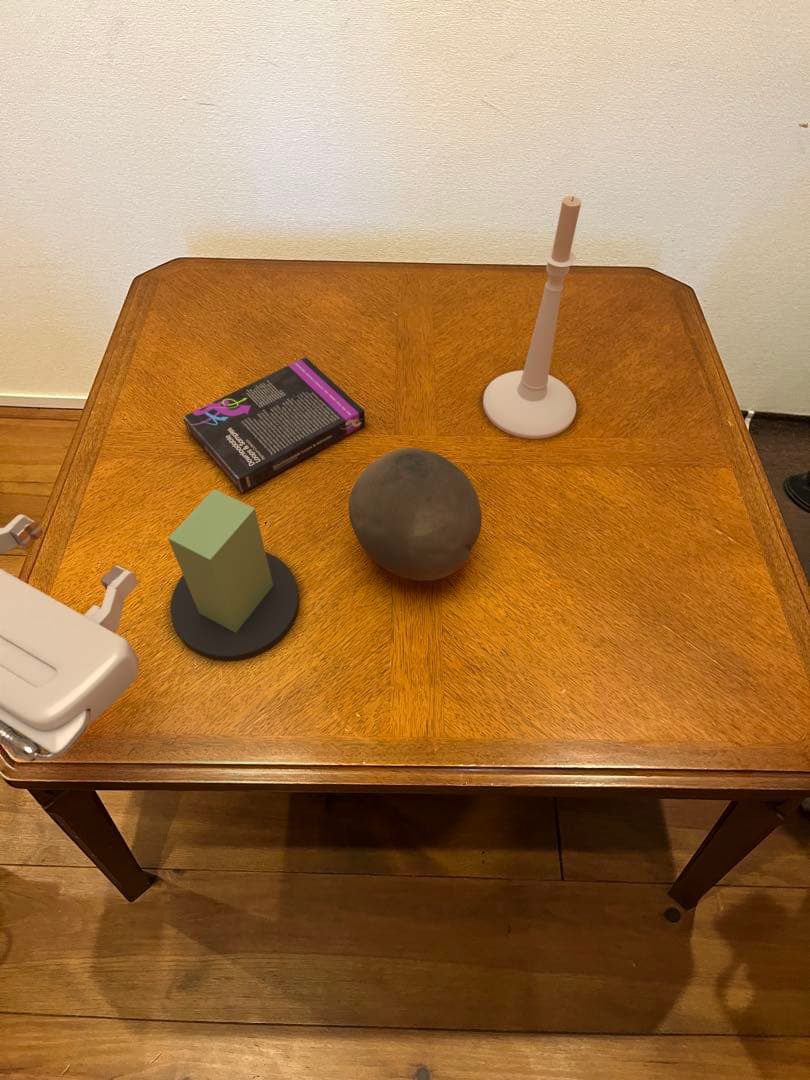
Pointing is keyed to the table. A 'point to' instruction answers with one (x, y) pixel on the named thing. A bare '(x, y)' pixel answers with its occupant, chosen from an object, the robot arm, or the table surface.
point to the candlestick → (539, 355)
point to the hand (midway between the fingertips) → (79, 547)
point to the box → (274, 423)
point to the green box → (223, 559)
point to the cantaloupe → (415, 514)
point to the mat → (255, 632)
